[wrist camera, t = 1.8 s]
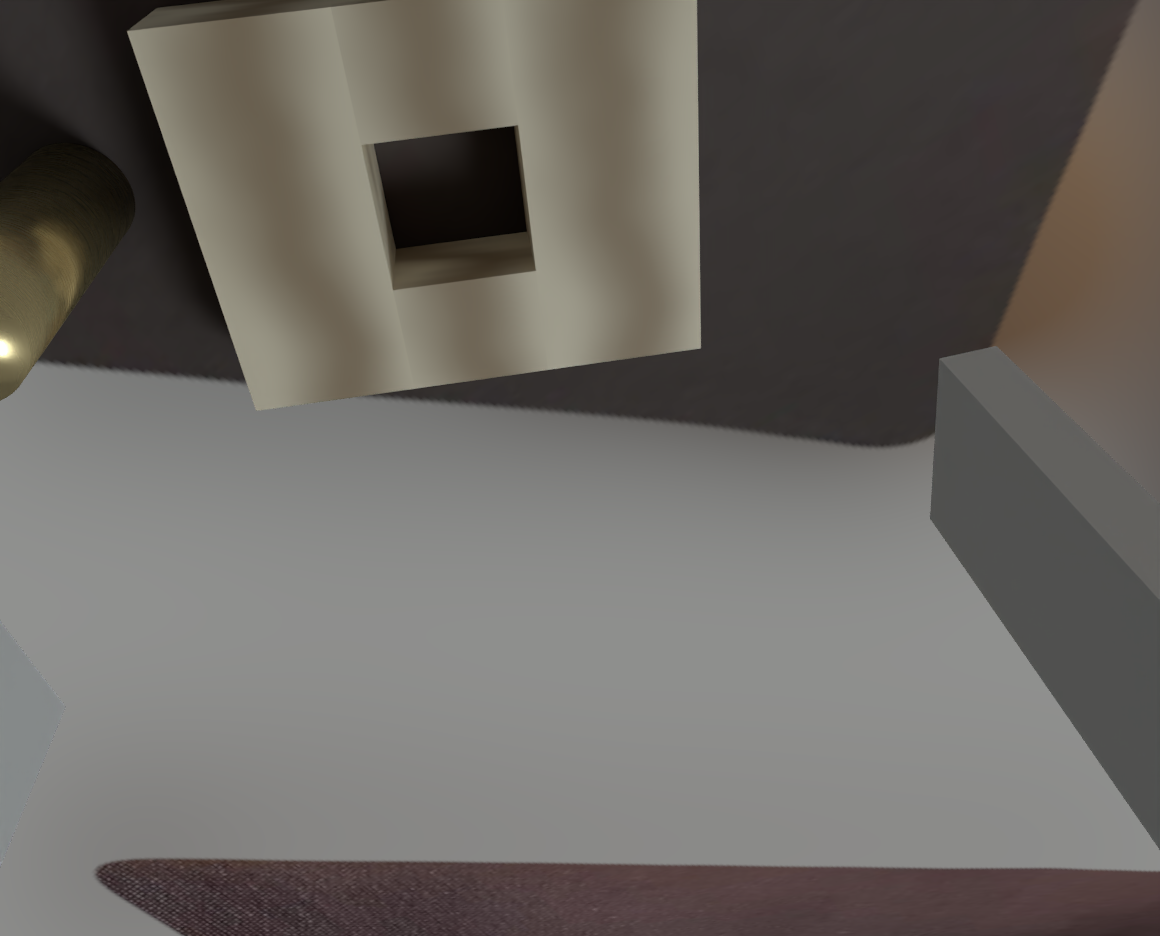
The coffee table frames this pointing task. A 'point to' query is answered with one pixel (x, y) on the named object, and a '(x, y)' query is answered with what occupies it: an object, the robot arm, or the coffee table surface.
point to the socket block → (421, 109)
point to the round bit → (53, 245)
